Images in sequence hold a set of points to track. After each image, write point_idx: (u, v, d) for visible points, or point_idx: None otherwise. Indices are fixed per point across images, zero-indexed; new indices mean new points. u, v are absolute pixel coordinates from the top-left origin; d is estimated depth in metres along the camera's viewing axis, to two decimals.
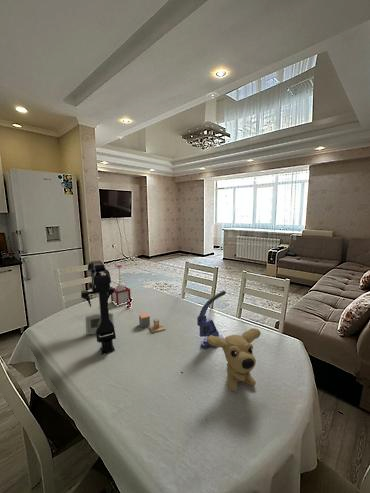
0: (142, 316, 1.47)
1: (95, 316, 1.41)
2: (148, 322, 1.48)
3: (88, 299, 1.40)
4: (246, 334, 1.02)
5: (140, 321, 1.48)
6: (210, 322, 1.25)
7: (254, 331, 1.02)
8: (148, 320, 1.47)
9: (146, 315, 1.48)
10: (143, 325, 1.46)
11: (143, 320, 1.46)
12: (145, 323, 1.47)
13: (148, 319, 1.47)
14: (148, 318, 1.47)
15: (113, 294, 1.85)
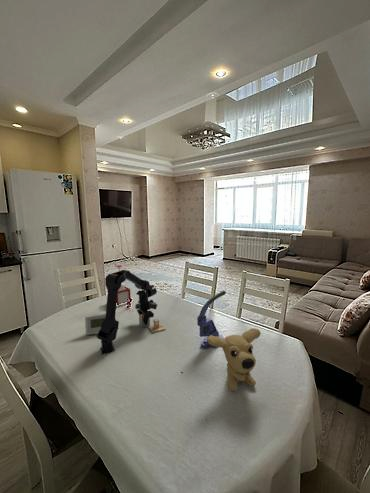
0: None
1: (95, 316, 1.40)
2: (148, 322, 1.48)
3: (138, 313, 1.50)
4: (246, 334, 1.02)
5: (140, 321, 1.48)
6: (210, 322, 1.25)
7: (254, 331, 1.02)
8: (148, 320, 1.47)
9: None
10: (143, 325, 1.46)
11: None
12: None
13: (148, 319, 1.47)
14: None
15: None
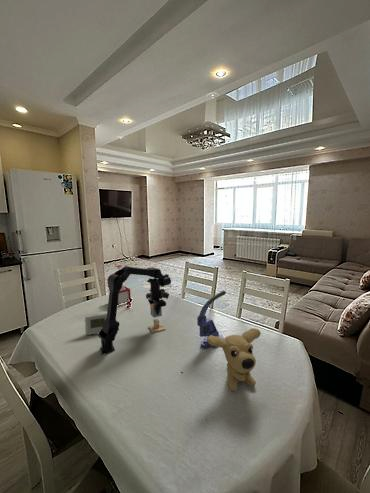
0: None
1: (95, 316, 1.40)
2: (160, 312, 1.42)
3: (149, 302, 1.44)
4: (246, 334, 1.02)
5: (151, 311, 1.42)
6: (210, 322, 1.25)
7: (254, 331, 1.02)
8: (160, 310, 1.42)
9: None
10: (155, 315, 1.40)
11: None
12: None
13: (160, 309, 1.41)
14: None
15: None
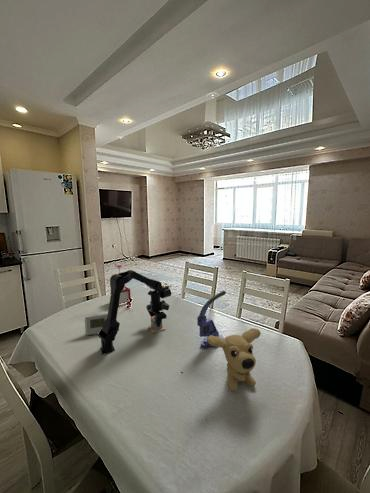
0: None
1: (94, 316, 1.40)
2: (160, 324, 1.43)
3: (149, 313, 1.46)
4: (246, 334, 1.02)
5: (152, 323, 1.43)
6: (210, 322, 1.25)
7: (254, 331, 1.02)
8: None
9: None
10: (155, 327, 1.42)
11: (155, 322, 1.41)
12: None
13: None
14: None
15: None
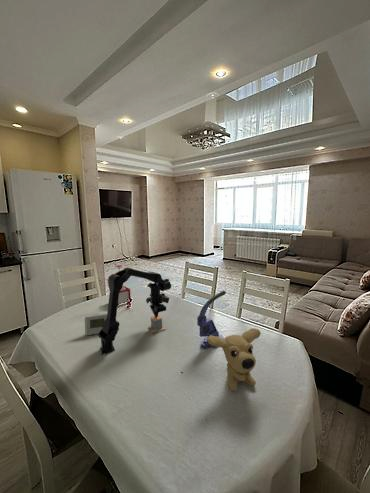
0: (154, 318, 1.42)
1: (94, 316, 1.40)
2: (160, 324, 1.43)
3: (151, 308, 1.43)
4: (246, 334, 1.02)
5: (152, 323, 1.43)
6: (210, 322, 1.25)
7: (254, 331, 1.02)
8: (160, 322, 1.43)
9: (158, 317, 1.44)
10: (155, 327, 1.42)
11: (155, 322, 1.41)
12: (157, 325, 1.42)
13: (160, 321, 1.43)
14: (160, 320, 1.43)
15: None
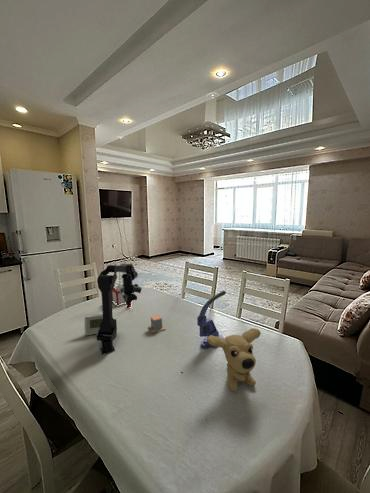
0: (154, 318, 1.42)
1: (94, 316, 1.40)
2: (160, 324, 1.43)
3: None
4: (246, 334, 1.02)
5: (152, 323, 1.43)
6: (210, 322, 1.25)
7: (254, 331, 1.02)
8: (160, 322, 1.43)
9: (158, 317, 1.44)
10: (155, 327, 1.42)
11: (155, 322, 1.41)
12: (157, 325, 1.42)
13: (160, 321, 1.43)
14: (160, 320, 1.43)
15: (113, 294, 1.85)
